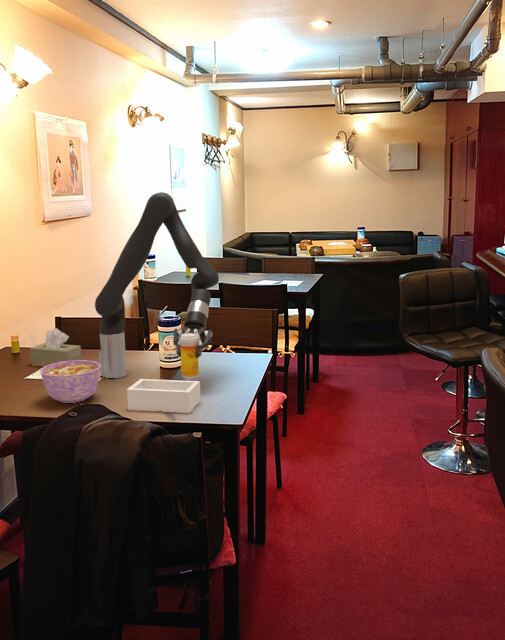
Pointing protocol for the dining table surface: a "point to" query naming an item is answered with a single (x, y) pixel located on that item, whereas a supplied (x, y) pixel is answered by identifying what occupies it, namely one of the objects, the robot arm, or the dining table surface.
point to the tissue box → (54, 350)
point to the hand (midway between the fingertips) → (188, 356)
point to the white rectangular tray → (163, 395)
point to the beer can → (189, 355)
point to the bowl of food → (71, 380)
